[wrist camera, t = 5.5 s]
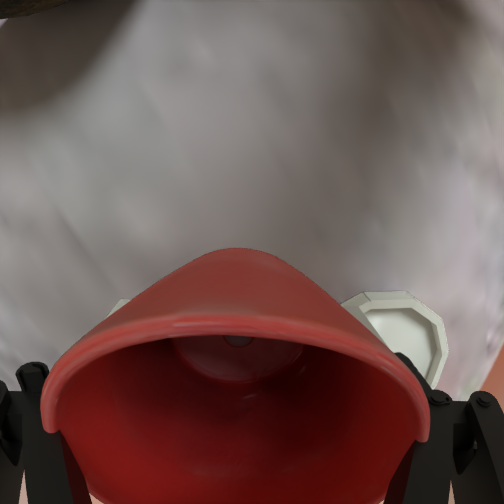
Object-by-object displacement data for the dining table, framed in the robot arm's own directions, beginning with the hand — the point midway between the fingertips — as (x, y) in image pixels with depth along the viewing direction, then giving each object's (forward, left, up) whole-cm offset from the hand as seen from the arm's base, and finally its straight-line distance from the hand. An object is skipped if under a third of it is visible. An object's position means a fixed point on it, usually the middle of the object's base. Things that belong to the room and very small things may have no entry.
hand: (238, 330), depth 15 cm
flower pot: (0, 0, -1) cm, 1 cm away
